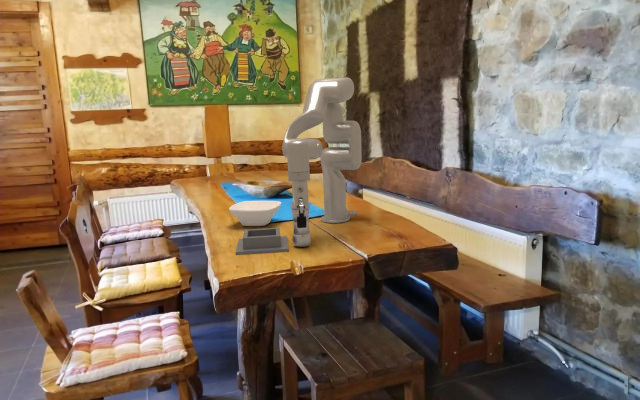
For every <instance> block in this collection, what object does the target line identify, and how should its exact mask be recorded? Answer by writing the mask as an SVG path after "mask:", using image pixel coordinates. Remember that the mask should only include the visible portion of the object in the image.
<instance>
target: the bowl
mask: <svg viewBox="0 0 640 400" xmlns="http://www.w3.org/2000/svg"><path fill="white" fill-rule="evenodd" d="M281 205H282V202H281V201H278V200H244V201H240V202H237V203H235V204H232V205H231V206H230V207H229V208H228V210H229V212H230V214H231V215H232V217H234V218H236V219H238V221H239V222H240V224H241V225H242V226H243V227H244V226H246V227H264V226H266V225H268V224H269V223H271V220H272V219H273V217H274V215H276V214H277V213H278V211H279V209H280V207H281Z"/></svg>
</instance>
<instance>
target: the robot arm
mask: <svg viewBox="0 0 640 400" xmlns="http://www.w3.org/2000/svg"><path fill="white" fill-rule="evenodd" d="M354 93H355V84H354V81H353V80H352V79H351V78H350V77H328V78H327V77H325V78H318V79H315V80H313V82H312V83H310V84H309V86H308V89H307V92H306V96H305V101H304V106H303V109H302V113H301V114H300V115H298V116H297V117H295V119H294V120H293V121H292V122H291V123H290V124H289V125H288V127H287V129H286V130H285V133H284V137H283V140H282V141H283V142H282V146H281V147H282V148H281V149H282V150H281V151H282V154H283V156H284V158H285V159H287V178H288V179H287V180H288V182H289V183H290V182H291V189H292V190H291V192H292V202H294V207H295V209H296V210H297V228H306V227H307V226H306V214H305V208H306V209H307V210H308V209H309V210H310V203H309V188H308V185H309V184H308V182H309V181H311V174H310V173H311V172H310V169H311V168H310V160H311V161H313V160H317V159H320V165H321V170H322V181H323V182H322V183H323V184H322V185H323V208H324V209H323V210H324V214H323V215H322V216H321V217H320V221H321V222H323V223H328V224H341V223H345V222H348V221H350V219H351V216H357V215H358V210H349V209H348V208H347V192H346V190H347V189H346V188H347V186H346V178H345V176H344V174H343V173H342V172H341V171H342V170H345V171H346V170H347V171H348V170H349V171H351V170H352V171H354V170H358V169H359V168H360V167H361V166H362V159H363V158H362V129H361V126H360V123H359V122H358V121H356V120H344V116H343V114H344V113H343V107H342V105H341V103H345V102H346V101H348V100H350V99H351V98H352V97H353V95H354ZM321 124H322V136H323V141H324V142H325V143H327V144H331V145H332V144H333V145H340V144H341V145H342V144H343V145H344V144H345V145H346V144H347V145H348V146H327V147H325V148H323V144H322V142H321V141H320V140H319V139H317V138H305V137H304V138H302V137H301V138H298V137H299V136H301V134H302V133H304V132H305V131H308V130H310V129H313V128H315V127H317V126H319V125H321ZM303 205H304V206H303ZM299 207H300V208H299Z"/></svg>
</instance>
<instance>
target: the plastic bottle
mask: <svg viewBox="0 0 640 400" xmlns="http://www.w3.org/2000/svg"><path fill="white" fill-rule="evenodd" d="M303 206H304V205H303ZM299 208H300V207H299ZM290 210H291V213H292V221H293V228H292V229H293V231H292V244H293V245H294V246H295V247H299V248H302V247H303V248H304V247H308V246H310V245H311V243H312V236H311V232H310V231H311V230H310V224H309V221H310V220H309V219H310V218H309V214H310V208H309V209H308V210H307V209H306V208H305V214H306V226H307V227H306V228H297V210H296V209H295V207H294V202H293V201H292V202H291V204H290Z"/></svg>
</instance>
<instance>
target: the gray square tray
mask: <svg viewBox="0 0 640 400" xmlns="http://www.w3.org/2000/svg"><path fill="white" fill-rule="evenodd" d="M242 234H243V236H242V238H238V240H237V245H236V249H235V256H238V255H256V254H257V255H258V254H270V253H271V254H272V253H273V254H275V253H288V252H289V249H290V248H289V243H288V242H289V241H288V236H287V235H282V236H281V229H280V227H270V228H267V227H266V228H256V229H255V228H252V229H244V230H243V233H242Z"/></svg>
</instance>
